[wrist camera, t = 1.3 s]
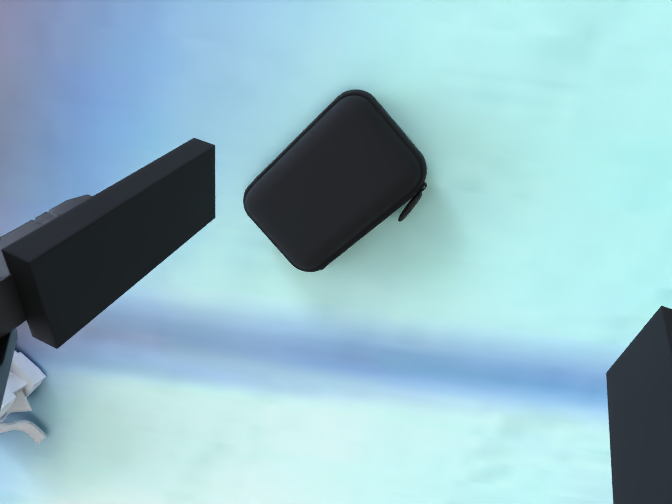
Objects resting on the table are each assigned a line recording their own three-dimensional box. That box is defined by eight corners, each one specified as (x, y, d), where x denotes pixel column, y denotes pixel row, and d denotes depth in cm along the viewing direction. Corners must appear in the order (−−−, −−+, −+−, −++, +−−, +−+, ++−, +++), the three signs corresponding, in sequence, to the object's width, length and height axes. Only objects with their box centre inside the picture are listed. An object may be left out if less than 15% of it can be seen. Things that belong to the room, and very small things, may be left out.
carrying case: (320, 283, 44) (448, 181, 39) (310, 296, 42) (446, 188, 36) (242, 195, 43) (361, 77, 38) (227, 203, 41) (353, 77, 35)
